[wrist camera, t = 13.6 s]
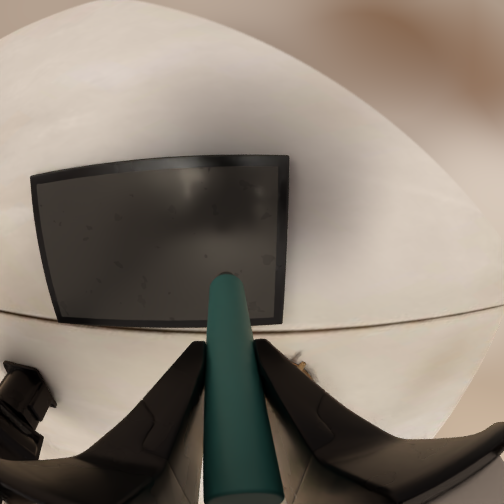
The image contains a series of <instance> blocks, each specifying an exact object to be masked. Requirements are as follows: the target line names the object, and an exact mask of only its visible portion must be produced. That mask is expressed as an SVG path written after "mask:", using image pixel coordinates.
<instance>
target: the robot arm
mask: <svg viewBox="0 0 504 504" xmlns="http://www.w3.org/2000/svg"><path fill="white" fill-rule="evenodd" d="M253 344H254V349H255V354H256V360H257V365H258V370H259V374H260V378H261V382H262V386H263V391H264V397H265V402H266V407H267V412H268V417H269V422H270V427H271V432H272V437H273V441H274V446H275V451H276V456H277V461H278V466H279V470H280V475H281V480H282V485H283V489H284V494H285V499H286V502H287V504H504V461H503V460H502V458H501V457H500V455H501V453H502V452H503V451H504V422H498V423H494V424H493V425H491V426H490V427H489V428H487V429H486V430H484V431H482V432H479V433H477V434H474V435H469V436H464V437H456V438H455V437H454V438H441V439H402V438H398V437H395V436H393V435H391V434H389V433H387V432H385V431H383V430H382V429H380V428H378V427H376V426H375V425H373V424H371V423H370V422H368V421H366V420H365V419H363V418H361V417H360V416H358V415H357V414H355V413H354V412H352V411H351V410H349V409H348V408H346V407H345V406H343V405H342V404H341V403H340V402H338V401H337V400H336V399H334V398H333V397H332V396H331V395H330V394H328V393H327V392H325V390H323V389H322V388H321V387H320V386H319V385H318V384H316V383H315V382H314V381H313V380H312V379H311V378H309V377H308V376H307V375H306V374H305V373H304V372H302V371H301V370H300V369H299V368H298V367H297V366H296V365H294V364H293V363H292V362H291V361H290V360H289V359H288V358H287V357H285V356H284V355H283V354H282V353H281V352H280V351H279V350H278V349H276V348H275V347H274V346H273V345H272V344H271V343H270V342H269V341H268V340H266V339H255V340H254V341H253ZM205 364H206V343H205V342H204V341H193V342H192V343H191V344H190V345H189V347H188V348H187V349H186V350H185V351H184V352H183V353H182V355H181V356H180V357H179V358H178V359H177V360H176V361H175V363H174V364H173V365H172V366H171V367H170V368H169V369H168V371H167V372H166V373H165V374H164V375H163V376H162V377H161V379H160V380H159V381H158V382H157V383H156V384H155V385H154V387H153V388H152V389H151V390H150V391H149V392H148V393H147V394H146V396H145V397H144V398H143V400H141V401H140V402H139V403H138V404H137V406H136V407H135V408H134V409H133V410H132V411H131V412H130V413H129V414H128V415H127V416H126V417H125V418H124V419H123V420H122V421H121V422H120V423H118V424H117V425H116V426H115V427H114V428H113V429H112V430H110V431H109V432H108V433H107V434H106V435H104V436H103V437H102V438H101V439H100V440H98V441H97V442H96V443H95V444H94V445H92V446H91V447H90V448H89V449H87V450H86V451H84V452H83V453H81V454H79V455H76V456H73V457H69V458H60V459H50V460H38V459H39V455H40V451H41V447H42V443H43V439H44V437H43V436H42V435H41V434H39V433H38V432H36V431H35V430H36V427H37V425H38V423H39V421H40V422H41V421H42V420H43V418H44V416H45V414H46V412H47V410H48V408H49V407H53V408H56V406H57V404H56V402H55V400H54V399H53V397H52V395H51V393H50V391H49V390H48V388H47V386H46V384H45V382H44V380H43V378H42V376H41V374H40V372H39V371H38V370H37V369H36V368H33V367H29V366H24V365H20V364H16V363H12V362H8V361H4V362H3V365H4V367H5V369H6V371H7V374H6V376H5V377H4V379H3V380H2V381H1V383H0V504H2V500H4V501H5V503H4V504H198V499H199V488H200V478H201V468H202V458H203V427H204V386H205Z"/></svg>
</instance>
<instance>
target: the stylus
mask: <svg viewBox="0 0 504 504" xmlns="http://www.w3.org/2000/svg"><path fill="white" fill-rule="evenodd" d="M253 341H254V339H253V334H252V329H251V323H250V318H249V312H248V307H247V302H246V296H245V291H244V286H243V283H242V281H241V280H240V279H239V278H238V277H236V276H235V275H234V274H232V273H231V272H222V273H220V274H219V275H218V276H217V277H216V278H215V279H214V280H213V281H212V283H211V285H210V290H209V305H208V321H207V339H206V364H205V386H204V427H203V491H204V503H205V504H281V503H282V502H283V500H284V498H285V494H284V489H283V485H282V480H281V475H280V470H279V466H278V461H277V456H276V451H275V446H274V441H273V437H272V432H271V427H270V422H269V417H268V412H267V407H266V402H265V397H264V391H263V386H262V382H261V378H260V374H259V370H258V365H257V360H256V354H255V349H254V344H253Z"/></svg>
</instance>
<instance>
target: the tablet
mask: <svg viewBox="0 0 504 504" xmlns="http://www.w3.org/2000/svg"><path fill="white" fill-rule="evenodd" d="M30 182H31V194H32V204H33V213H34V220H35V227H36V233H37V239H38V245H39V250H40V255H41V260H42V264H43V269H44V273H45V277H46V281H47V285H48V289H49V293H50V296H51V300H52V303H53V307H54V310H55V313H56V316H57V319H58V322H59V323H69V324H83V325H98V326H119V327H153V328H200V327H207V321H208V305H209V290H210V285H211V283H212V281H213V280H214V279H215V278H216V277H217V276H218V275H219V274H220V273H222V272H231V273H232V274H234V275H235V276H236V277H238V278H239V279H240V280H241V281H242V283H243V286H244V291H245V296H246V302H247V307H248V312H249V318H250V323H251V326H257V325H274V324H282V323H283V307H284V291H285V273H286V252H287V229H288V199H289V156H288V155H199V156H179V157H164V158H151V159H139V160H129V161H120V162H112V163H104V164H96V165H89V166H82V167H76V168H70V169H64V170H58V171H53V172H48V173H43V174H38V175H33V176H30Z"/></svg>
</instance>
